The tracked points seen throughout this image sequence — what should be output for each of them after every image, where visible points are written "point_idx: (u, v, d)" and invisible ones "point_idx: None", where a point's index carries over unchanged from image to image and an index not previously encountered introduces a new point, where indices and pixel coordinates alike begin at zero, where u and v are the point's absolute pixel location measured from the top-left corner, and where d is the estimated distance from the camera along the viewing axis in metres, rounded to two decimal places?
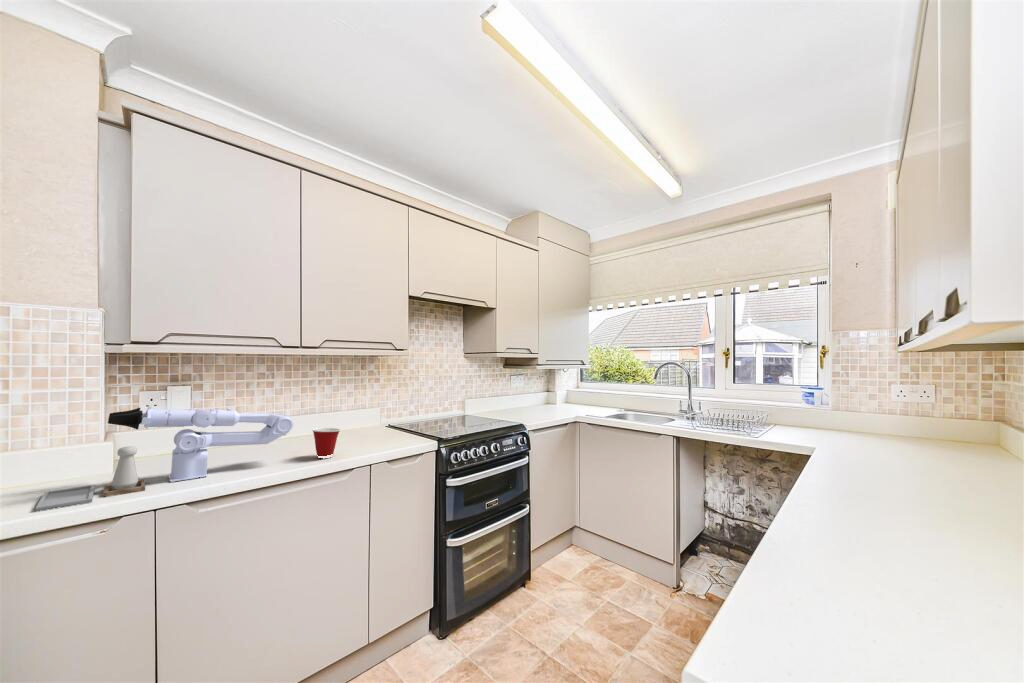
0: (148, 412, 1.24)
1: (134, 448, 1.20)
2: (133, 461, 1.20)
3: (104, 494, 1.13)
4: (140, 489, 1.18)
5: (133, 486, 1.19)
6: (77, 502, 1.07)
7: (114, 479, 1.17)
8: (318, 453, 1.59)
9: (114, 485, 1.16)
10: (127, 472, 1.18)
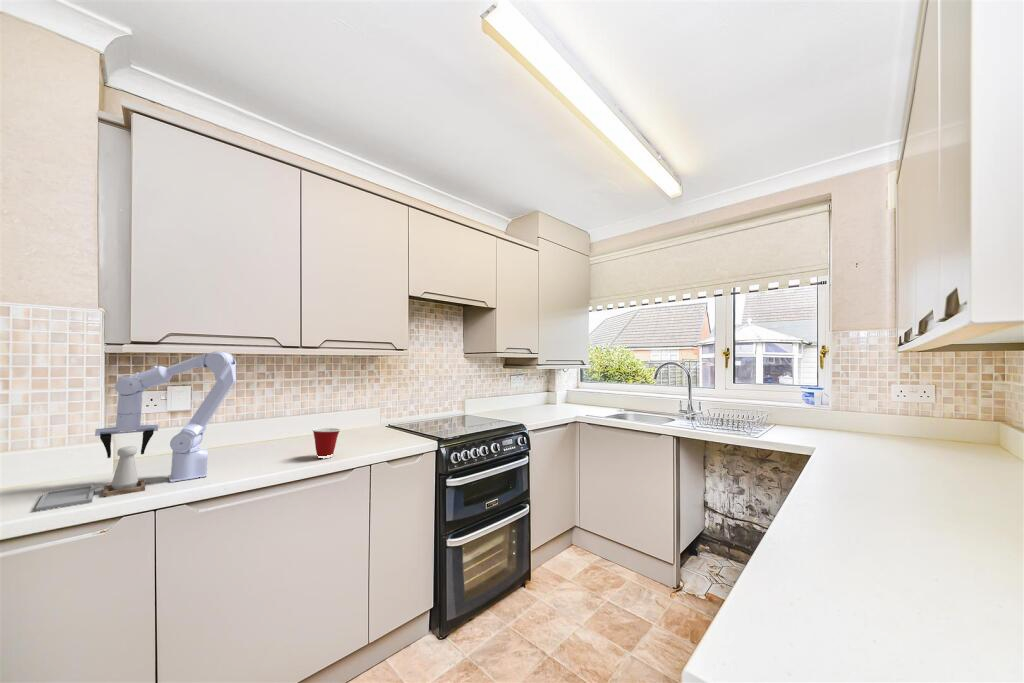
0: None
1: (134, 448, 1.20)
2: (133, 461, 1.20)
3: (104, 494, 1.13)
4: (140, 489, 1.18)
5: (133, 486, 1.19)
6: (77, 502, 1.07)
7: (114, 479, 1.17)
8: (318, 453, 1.59)
9: (114, 485, 1.16)
10: (127, 472, 1.18)
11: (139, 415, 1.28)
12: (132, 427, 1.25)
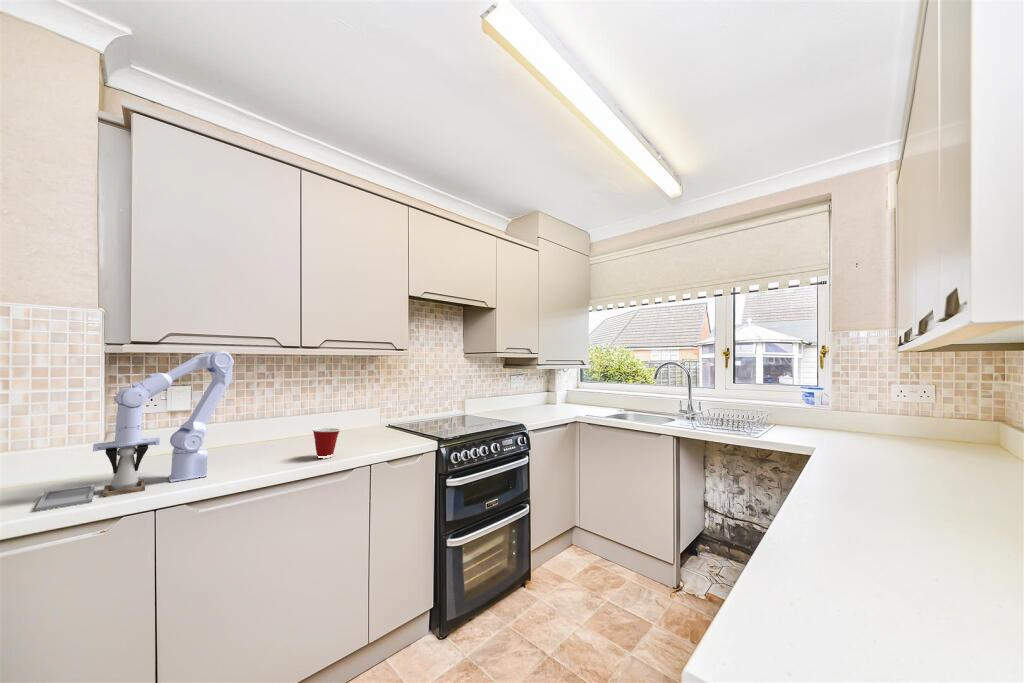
0: None
1: (134, 448, 1.20)
2: (133, 461, 1.20)
3: (104, 494, 1.13)
4: (140, 489, 1.18)
5: (133, 486, 1.19)
6: (77, 502, 1.07)
7: (114, 479, 1.17)
8: (318, 453, 1.59)
9: (114, 485, 1.16)
10: (127, 472, 1.18)
11: (139, 428, 1.20)
12: (132, 441, 1.18)
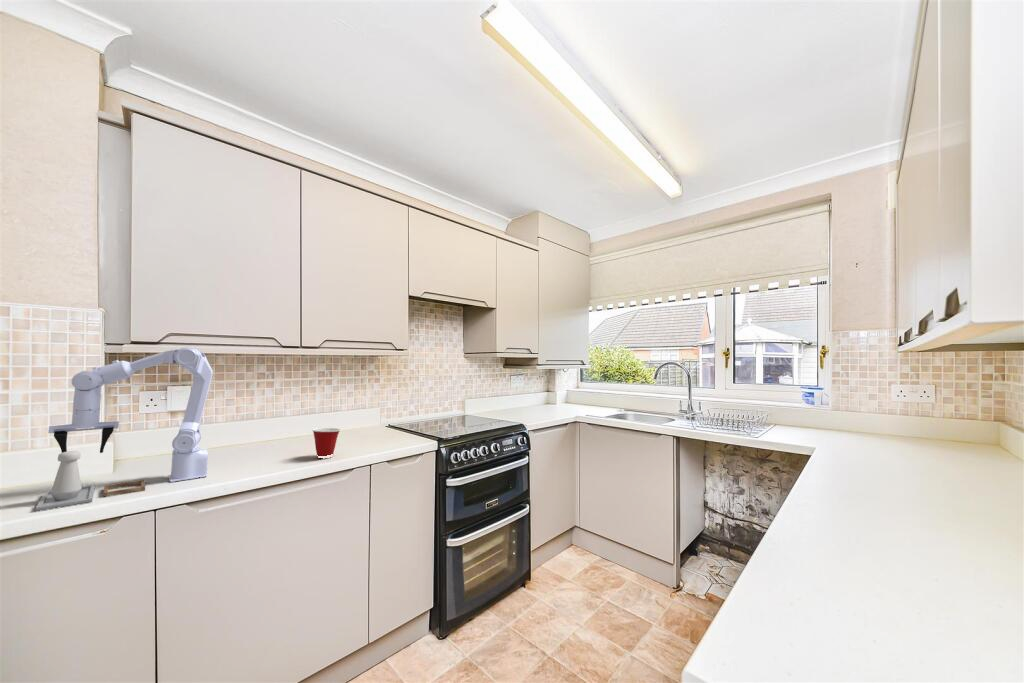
0: None
1: (77, 453, 1.11)
2: (76, 467, 1.11)
3: (104, 494, 1.13)
4: (140, 489, 1.18)
5: (76, 494, 1.11)
6: (77, 502, 1.07)
7: (54, 487, 1.08)
8: (318, 453, 1.59)
9: (54, 493, 1.07)
10: (69, 479, 1.09)
11: (97, 411, 1.21)
12: (89, 424, 1.19)
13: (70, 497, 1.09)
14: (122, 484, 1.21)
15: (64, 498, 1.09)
